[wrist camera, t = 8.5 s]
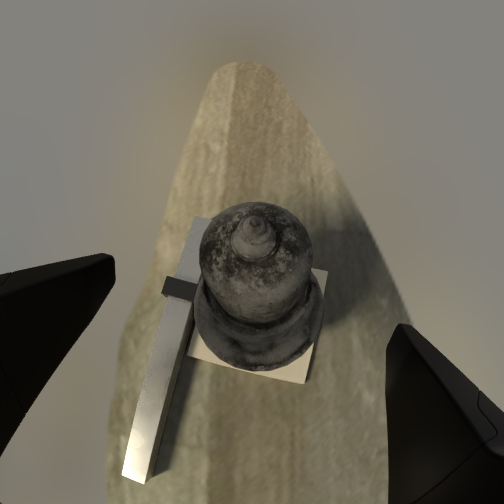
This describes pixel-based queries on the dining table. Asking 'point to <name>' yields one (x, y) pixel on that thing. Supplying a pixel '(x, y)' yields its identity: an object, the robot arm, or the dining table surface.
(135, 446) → the white rectangular bar
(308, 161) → the dining table surface
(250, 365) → the dark grey tiered figure
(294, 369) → the groove pad
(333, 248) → the dining table surface
